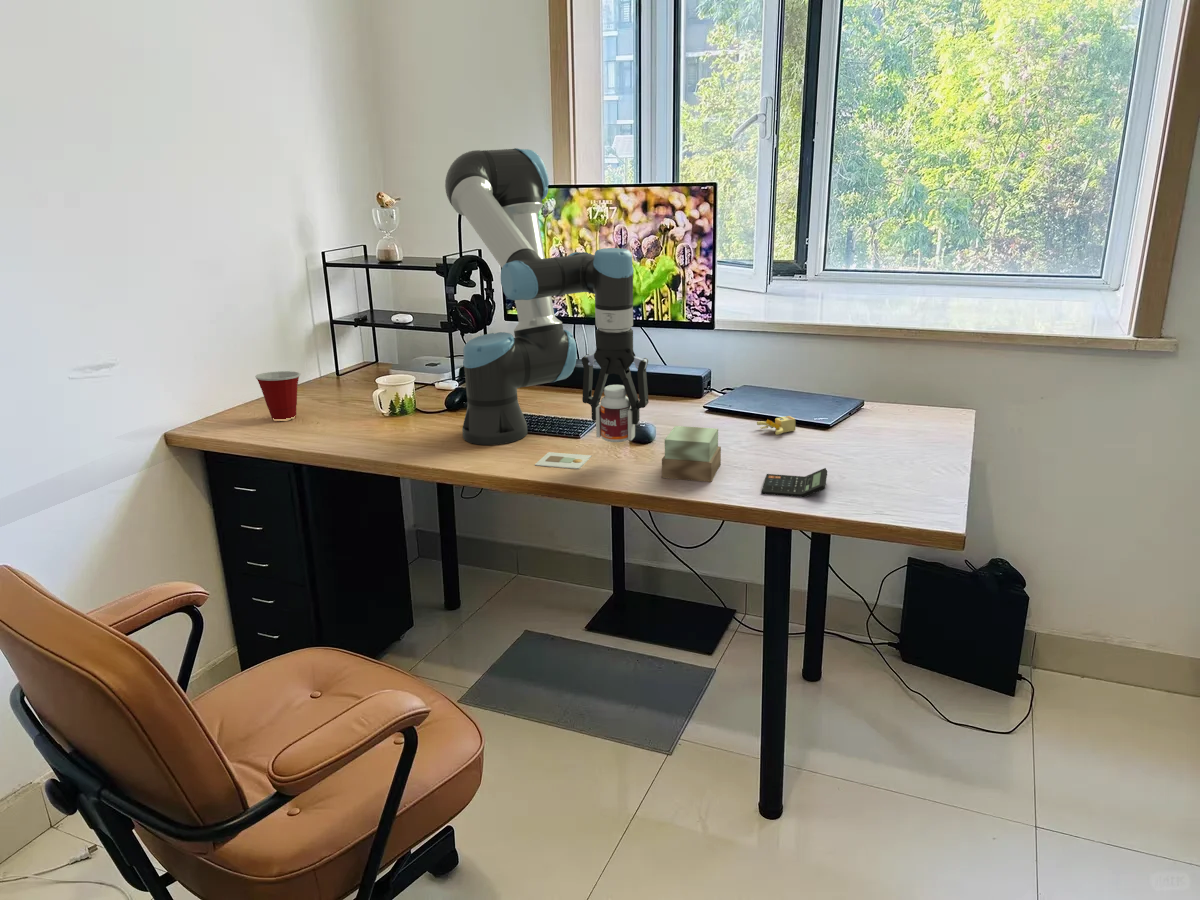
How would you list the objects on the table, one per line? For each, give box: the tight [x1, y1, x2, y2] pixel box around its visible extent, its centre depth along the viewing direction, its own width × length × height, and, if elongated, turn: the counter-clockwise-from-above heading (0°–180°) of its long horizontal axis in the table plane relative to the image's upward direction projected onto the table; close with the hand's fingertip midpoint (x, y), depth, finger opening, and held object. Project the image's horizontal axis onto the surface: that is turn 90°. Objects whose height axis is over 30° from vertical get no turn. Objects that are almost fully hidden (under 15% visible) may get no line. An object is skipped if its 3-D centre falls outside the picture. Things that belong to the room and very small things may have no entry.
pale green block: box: [661, 425, 722, 483], centre depth 173 cm, size 10×10×8 cm
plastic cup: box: [255, 370, 301, 419], centre depth 218 cm, size 11×11×12 cm
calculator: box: [760, 467, 828, 498], centre depth 164 cm, size 9×12×3 cm
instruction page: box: [534, 451, 592, 470], centre depth 183 cm, size 10×8×1 cm
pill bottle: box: [600, 384, 631, 443], centre depth 177 cm, size 6×6×11 cm
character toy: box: [756, 415, 796, 436], centre depth 196 cm, size 8×3×8 cm
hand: (615, 436), depth 179 cm, fingers closed on pill bottle, 6 cm apart
